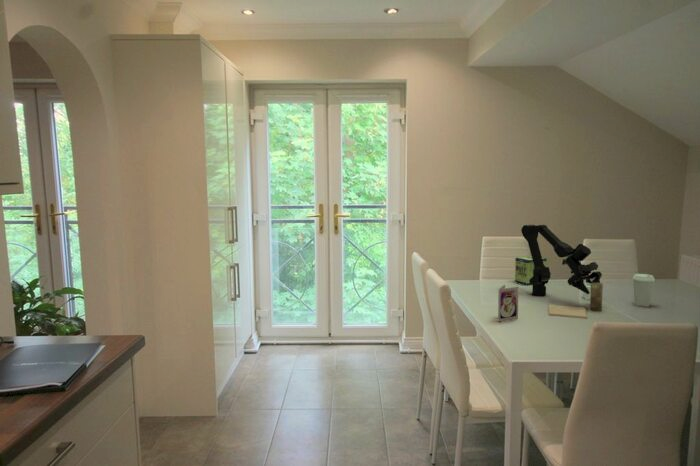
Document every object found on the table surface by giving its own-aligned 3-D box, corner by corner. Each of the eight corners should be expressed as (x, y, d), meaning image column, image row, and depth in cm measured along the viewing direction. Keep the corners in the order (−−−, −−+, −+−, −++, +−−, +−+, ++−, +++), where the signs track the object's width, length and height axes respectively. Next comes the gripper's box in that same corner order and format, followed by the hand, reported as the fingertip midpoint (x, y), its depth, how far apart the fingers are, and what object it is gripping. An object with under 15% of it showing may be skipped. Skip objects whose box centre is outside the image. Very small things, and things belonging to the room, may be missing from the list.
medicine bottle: (601, 300, 240) (602, 277, 239) (586, 300, 242) (587, 277, 241) (596, 297, 247) (597, 275, 246) (582, 296, 249) (583, 274, 247)
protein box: (514, 282, 286) (514, 257, 284) (533, 280, 292) (534, 255, 290) (527, 285, 276) (527, 260, 275) (546, 283, 282) (547, 258, 281)
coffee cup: (646, 308, 224) (647, 278, 223) (626, 304, 233) (628, 274, 231) (657, 305, 229) (659, 275, 227) (638, 301, 237) (639, 272, 235)
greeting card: (499, 322, 206) (500, 289, 204) (488, 318, 213) (488, 286, 211) (519, 319, 210) (519, 287, 209) (507, 315, 217) (508, 283, 216)
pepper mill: (590, 310, 222) (591, 284, 221) (589, 308, 227) (590, 281, 225) (602, 311, 220) (603, 284, 219) (601, 308, 225) (602, 282, 223)
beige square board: (548, 315, 216) (548, 313, 216) (548, 306, 231) (548, 304, 231) (587, 318, 210) (587, 316, 210) (584, 309, 225) (584, 307, 224)
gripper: (573, 258, 222) (593, 285, 213) (599, 255, 230) (619, 280, 221) (559, 272, 230) (577, 298, 221) (584, 268, 238) (603, 293, 229)
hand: (595, 292), depth 223 cm, fingers open, 9 cm apart
